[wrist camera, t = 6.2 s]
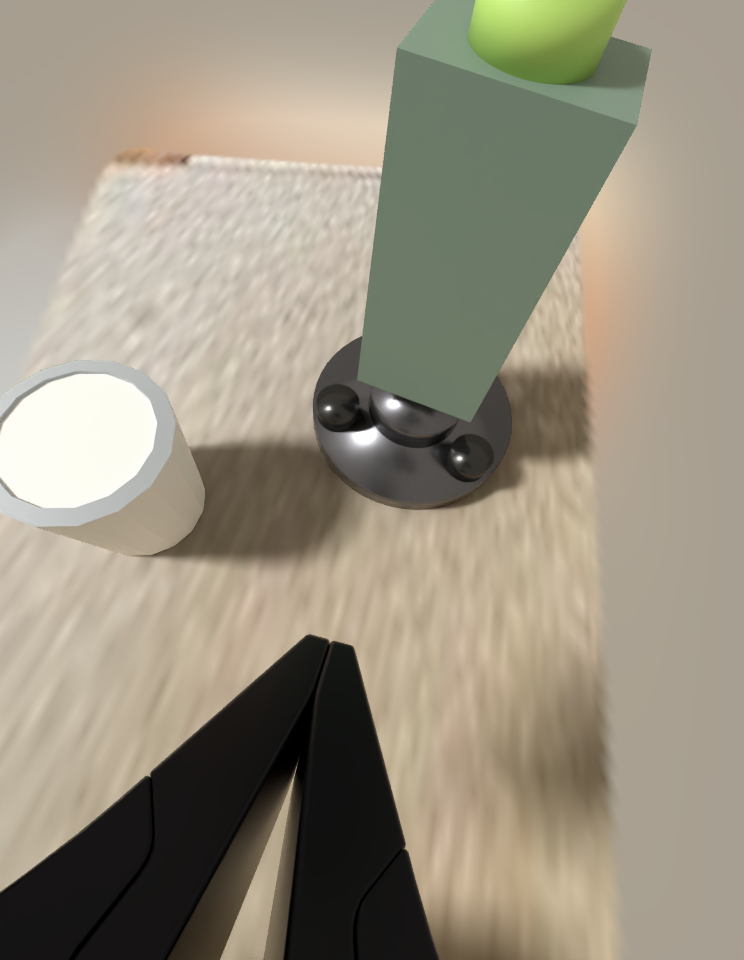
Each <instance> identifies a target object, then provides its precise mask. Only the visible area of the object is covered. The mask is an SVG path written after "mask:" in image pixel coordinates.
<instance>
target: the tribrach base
mask: <svg viewBox="0 0 744 960" xmlns="http://www.w3.org/2000/svg"><path fill="white" fill-rule="evenodd" d="M361 343H362V336H361V337H359V338H357V339H355V340H353V341H352V342H350V343H349V344H347V345H346V346H344V347H343V348H342V349H341V350H339V351H338V352H337V353H336V354H335V355H334V356H333V357H332V358H331V360H330V361H329V362H328V363H327V365H326V366H325V368H324V369H323V371H322V373H321V375H320V377H319V379H318V382H317V385H316V388H315V392H314V399H313V417H314V429H315V434H316V439H317V442H318V445H319V447H320V450H321V452H322V454H323V456H324V458H325V460H326V461H327V463H328V464H329V466H330V467H331V468H332V470H333V471H334V472H335V473H336V474H337V475H338V476H339V478H340V479H341V480H342V481H344V482H345V483H346V484H347V485H348V486H350V487H351V488H352V489H354V490H355V491H357V492H358V493H360V494H361V495H363V496H365V497H367V498H369V499H371V500H374V501H376V502H378V503H382V504H385V505H388V506H392V507H397V508H402V509H431V508H436V507H441V506H445V505H448V504H451V503H454V502H456V501H458V500H460V499H462V498H464V497H466V496H468V495H469V494H470V493H472V492H473V491H475V490H476V489H477V488H478V487H479V486H481V485H482V484H483V483H484V482H485V481H486V479H487V478H488V477H489V476H490V475H491V473H492V472H493V471H494V470H495V468H496V467H497V466H498V465H499V463H500V461H501V460H502V458H503V456H504V454H505V452H506V449H507V447H508V444H509V440H510V435H511V426H512V418H511V409H510V405H509V401H508V397H507V395H506V392H505V390H504V387H503V386H502V384H501V382H500V380H499V378H498V377H497V376H496V378H495V379H494V381H493V383H492V385H491V386H490V388H489V390H488V392H487V394H486V395H485V397H484V399H483V401H482V403H481V404H480V406H479V408H478V410H477V411H476V413H475V415H474V417H473V419H472V420H471V422H468V421H465V420H462V419H460V418H457V417H454V416H452V415H449V414H446V413H444V412H441V411H438V410H436V409H433V408H430V407H428V406H425V405H422V404H420V403H417V402H414V401H412V400H409V399H406V398H404V397H401V396H398V395H396V394H393V393H390V392H388V391H385V390H382V389H380V388H377V387H374V386H372V385H369V384H366V383H364V382H361V381H358V380H357V377H358V368H359V360H360V352H361Z"/></svg>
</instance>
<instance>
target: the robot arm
mask: <svg viewBox="0 0 744 960" xmlns="http://www.w3.org/2000/svg"><path fill="white" fill-rule="evenodd" d="M297 764H298V765H297ZM296 767H297V769H296ZM295 770H296V773H295ZM294 773H295V777H294V782H293V787H292V793H291V798H290V804H289V810H288V816H287V822H286V828H285V834H284V840H283V846H282V852H281V858H280V864H279V870H278V876H277V882H276V888H275V894H274V900H273V906H272V912H271V918H270V924H269V930H268V936H267V942H266V948H265V954H264V960H440V959H439V956H438V953H437V950H436V947H435V944H434V941H433V938H432V935H431V932H430V928H429V925H428V921H427V918H426V914H425V911H424V908H423V904H422V901H421V897H420V894H419V890H418V887H417V883H416V880H415V876H414V872H413V868H412V864H411V861H410V857H409V853H408V851H407V850H406V849H404V848H405V846H406V843H405V839H404V835H403V831H402V827H401V824H400V820H399V816H398V812H397V808H396V805H395V801H394V797H393V793H392V789H391V786H390V782H389V778H388V774H387V770H386V767H385V763H384V759H383V755H382V751H381V748H380V744H379V740H378V736H377V732H376V729H375V725H374V721H373V717H372V713H371V710H370V706H369V702H368V698H367V694H366V691H365V687H364V683H363V679H362V675H361V672H360V668H359V664H358V660H357V656H356V653H355V649H354V647H353V646H351V645H348V644H344V643H341V642H337V641H332V642H331V643H330V642H329V640H328V639H326V638H322V637H318V636H315V635H311V634H309V635H306V636H305V637H304V638H303V639H302V640H300V641H299V642H298V643H297V644H296V645H295V646H294V647H292V648H291V649H290V650H289V651H288V652H287V653H286V654H284V655H283V656H282V657H281V658H280V659H279V660H278V661H276V662H275V663H274V664H273V665H272V666H271V667H270V668H268V669H267V670H266V671H265V672H264V673H263V674H262V675H260V676H259V677H258V678H257V679H256V680H255V681H254V682H253V683H251V684H250V685H249V686H248V687H247V688H246V689H245V690H243V691H242V692H241V693H240V694H239V695H238V696H237V697H235V698H234V699H233V700H232V701H231V702H230V703H229V704H227V705H226V706H225V707H224V708H223V709H222V710H221V711H219V712H218V713H217V714H216V715H215V716H214V717H213V718H211V719H210V720H209V721H208V722H207V723H206V724H205V725H203V726H202V727H201V728H200V729H199V730H198V731H197V732H196V733H194V734H193V735H192V736H191V737H190V738H189V739H188V740H186V741H185V742H184V743H183V744H182V745H181V746H180V747H178V748H177V749H176V750H175V751H174V752H173V753H172V754H170V755H169V756H168V757H167V758H166V759H165V760H164V761H162V762H161V763H160V764H159V765H158V766H157V767H156V768H154V769H153V770H152V771H151V773H150V777H149V776H145V777H144V778H143V779H142V780H140V781H139V782H138V783H137V784H136V785H135V786H134V787H132V788H131V789H130V790H129V791H128V792H127V793H126V794H124V795H123V796H122V797H121V798H120V799H119V800H118V801H116V802H115V803H114V804H113V805H112V806H110V807H109V808H108V809H107V810H106V811H104V812H103V813H102V814H101V815H100V816H98V817H97V818H96V819H95V820H94V821H92V822H91V823H90V824H89V825H88V826H86V827H85V828H84V829H83V830H82V831H80V832H79V833H78V834H77V835H75V836H74V837H73V838H71V839H70V840H69V841H67V842H66V843H65V844H64V845H62V846H61V847H60V848H58V849H57V850H56V851H54V852H53V853H52V854H50V855H49V856H48V857H46V858H45V859H44V860H43V861H41V862H40V863H39V864H37V865H36V866H35V867H33V868H32V869H31V870H29V871H28V872H27V873H25V874H24V875H23V876H21V877H20V878H19V879H17V880H16V881H15V882H13V883H12V884H10V885H9V886H8V887H6V888H5V889H4V890H2V891H1V892H0V960H220V958H221V956H222V953H223V951H224V948H225V946H226V943H227V941H228V938H229V936H230V933H231V931H232V928H233V926H234V923H235V921H236V919H237V916H238V914H239V911H240V909H241V906H242V904H243V901H244V899H245V896H246V894H247V891H248V889H249V886H250V884H251V881H252V879H253V877H254V874H255V872H256V869H257V867H258V864H259V862H260V859H261V857H262V854H263V852H264V849H265V847H266V844H267V842H268V839H269V837H270V835H271V832H272V830H273V827H274V825H275V822H276V820H277V817H278V815H279V812H280V810H281V807H282V805H283V802H284V800H285V797H286V795H287V792H288V790H289V787H290V784H291V782H292V779H293V776H294Z"/></svg>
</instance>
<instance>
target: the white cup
mask: <svg viewBox="0 0 744 960" xmlns="http://www.w3.org/2000/svg"><path fill="white" fill-rule="evenodd" d="M204 500H205V488H204V485H203V482H202V479H201V476H200V474H199V471H198V469H197V466H196V464H195V461H194V459H193V457H192V454H191V452H190V449H189V447H188V445H187V442H186V440H185V437H184V435H183V433H182V430H181V428H180V425H179V423H178V421H177V418H176V416H175V413H174V411H173V409H172V406H171V404H170V402H169V399H168V397H167V394H166V393H165V392H164V391H163V390H162V389H161V388H160V387H159V386H158V385H157V384H156V383H155V382H154V381H153V380H152V379H151V378H150V377H148V376H147V375H146V374H145V373H144V372H142V371H139V370H136V369H134V368H131V367H128V366H126V365H123V364H120V363H118V362H115V361H93V360H76V361H72V362H69V363H65V364H62V365H58V366H54V367H51V368H47V369H44V370H40V371H38V372H37V373H35V374H34V375H32V376H30V377H29V378H27V379H26V380H24V381H22V382H21V383H19V384H17V385H16V386H14V387H13V388H11V389H9V390H8V391H7V392H6V393H5V394H4V395H3V396H2V397H1V399H0V513H1V514H4V515H6V516H9V517H11V518H14V519H16V520H19V521H21V522H24V523H26V524H29V525H31V526H34V527H37V528H40V529H43V530H47V531H50V532H53V533H56V534H59V535H63V536H66V537H69V538H72V539H75V540H79V541H82V542H85V543H88V544H91V545H95V546H98V547H101V548H104V549H107V550H111V551H114V552H117V553H120V554H123V555H127V556H137V555H153V554H156V553H158V552H161V551H163V550H166V549H168V548H171V547H174V546H175V545H176V544H177V543H179V542H180V541H181V540H182V539H183V538H184V537H186V536H187V535H188V534H189V533H190V532H191V531H193V529H194V527H195V525H196V523H197V522H198V520H199V518H200V516H201V514H202V513H203V509H204Z"/></svg>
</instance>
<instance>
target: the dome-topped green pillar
mask: <svg viewBox="0 0 744 960" xmlns="http://www.w3.org/2000/svg"><path fill="white" fill-rule="evenodd" d="M626 1H627V0H435V1H434V2H433V3H432V4H431V6H430V7H429V8H428V10H427V11H426V12H425V13H424V14H423V16H422V17H421V18H420V20H419V21H418V22H417V23H416V25H415V26H414V27H413V28H412V30H411V31H410V32H409V33H408V35H407V36H406V37H405V38H404V40H403V41H402V42H401V44H400V45H399V46H398V47H397V53H396V62H395V69H394V77H393V86H392V94H391V102H390V111H389V119H388V127H387V136H386V144H385V152H384V161H383V169H382V177H381V185H380V194H379V202H378V210H377V219H376V227H375V235H374V244H373V252H372V260H371V269H370V277H369V285H368V294H367V302H366V310H365V318H364V327H363V335H362V343H361V352H360V360H359V368H358V377H357V380H358V381H361V382H364V383H366V384H369V385H372V386H374V387H377V388H380V389H382V390H385V391H388V392H390V393H393V394H396V395H398V396H401V397H404V398H406V399H409V400H412V401H414V402H417V403H420V404H422V405H425V406H428V407H430V408H433V409H436V410H438V411H441V412H444V413H446V414H449V415H452V416H454V417H457V418H460V419H462V420H465V421H468V422H471V420H472V419H473V417H474V415H475V413H476V411H477V410H478V408H479V406H480V404H481V403H482V401H483V399H484V397H485V395H486V394H487V392H488V390H489V388H490V386H491V385H492V383H493V381H494V379H495V378H496V376H497V374H498V372H499V370H500V369H501V367H502V365H503V363H504V361H505V360H506V358H507V356H508V354H509V353H510V351H511V349H512V347H513V345H514V344H515V342H516V340H517V338H518V336H519V335H520V333H521V331H522V329H523V328H524V326H525V324H526V322H527V320H528V319H529V317H530V315H531V313H532V311H533V310H534V308H535V306H536V304H537V303H538V301H539V299H540V297H541V295H542V294H543V292H544V290H545V288H546V287H547V285H548V283H549V281H550V279H551V278H552V276H553V274H554V272H555V270H556V269H557V267H558V265H559V263H560V262H561V260H562V258H563V256H564V254H565V253H566V251H567V249H568V247H569V245H570V244H571V242H572V240H573V238H574V237H575V235H576V233H577V231H578V229H579V228H580V226H581V224H582V222H583V220H584V218H585V217H586V215H587V213H588V211H589V210H590V208H591V206H592V204H593V202H594V201H595V199H596V197H597V195H598V193H599V192H600V190H601V188H602V187H603V185H604V183H605V181H606V179H607V178H608V176H609V174H610V172H611V170H612V169H613V167H614V165H615V163H616V161H617V160H618V158H619V156H620V154H621V153H622V151H623V149H624V147H625V145H626V144H627V142H628V140H629V138H630V137H631V135H632V133H633V131H634V129H635V128H636V126H637V122H638V116H639V112H640V107H641V102H642V96H643V91H644V86H645V81H646V76H647V71H648V66H649V61H650V56H651V51H652V50H651V49H649V48H646V47H642V46H639V45H636V44H633V43H630V42H626V41H623V40H620V39H617V38H613V37H611V35H612V32H613V30H614V28H615V26H616V23H617V21H618V19H619V16H620V14H621V12H622V10H623V8H624V5H625V3H626Z"/></svg>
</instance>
